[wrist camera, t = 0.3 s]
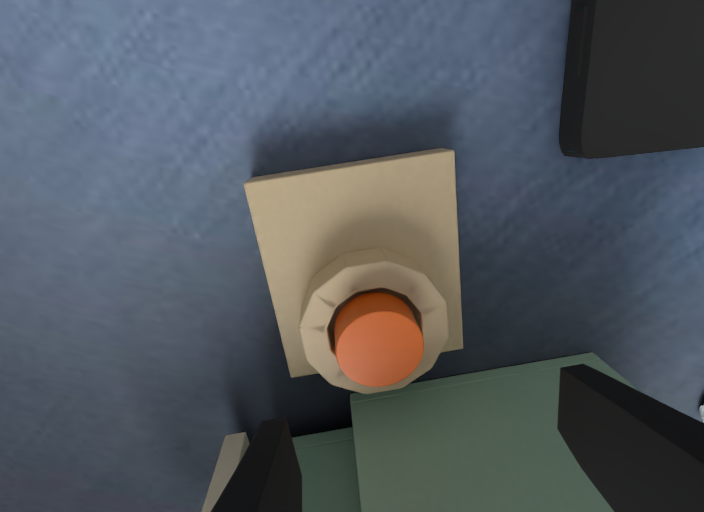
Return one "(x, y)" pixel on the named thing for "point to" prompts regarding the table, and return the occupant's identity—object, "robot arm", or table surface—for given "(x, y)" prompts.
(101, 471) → the table surface
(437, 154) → the control block
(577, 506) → the green drawer cabinet
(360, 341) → the button
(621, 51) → the smart home device
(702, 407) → the white pig figurine
